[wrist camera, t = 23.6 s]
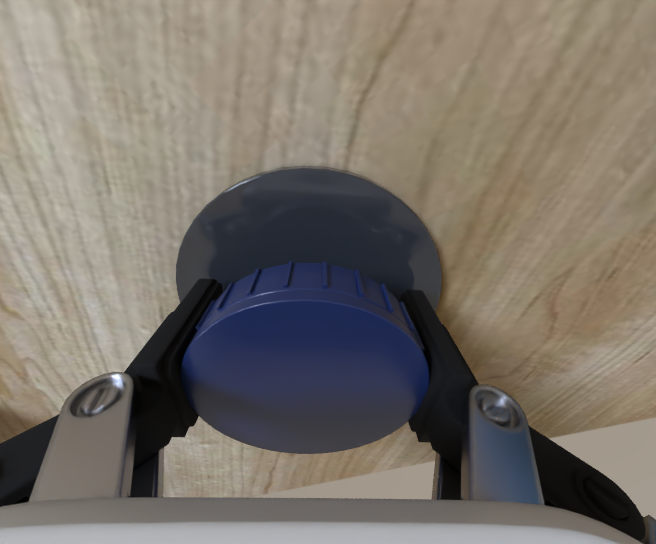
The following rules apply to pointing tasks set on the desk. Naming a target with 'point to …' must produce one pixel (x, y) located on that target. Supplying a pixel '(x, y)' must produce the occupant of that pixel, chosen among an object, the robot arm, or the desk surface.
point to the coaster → (310, 231)
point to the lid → (305, 360)
